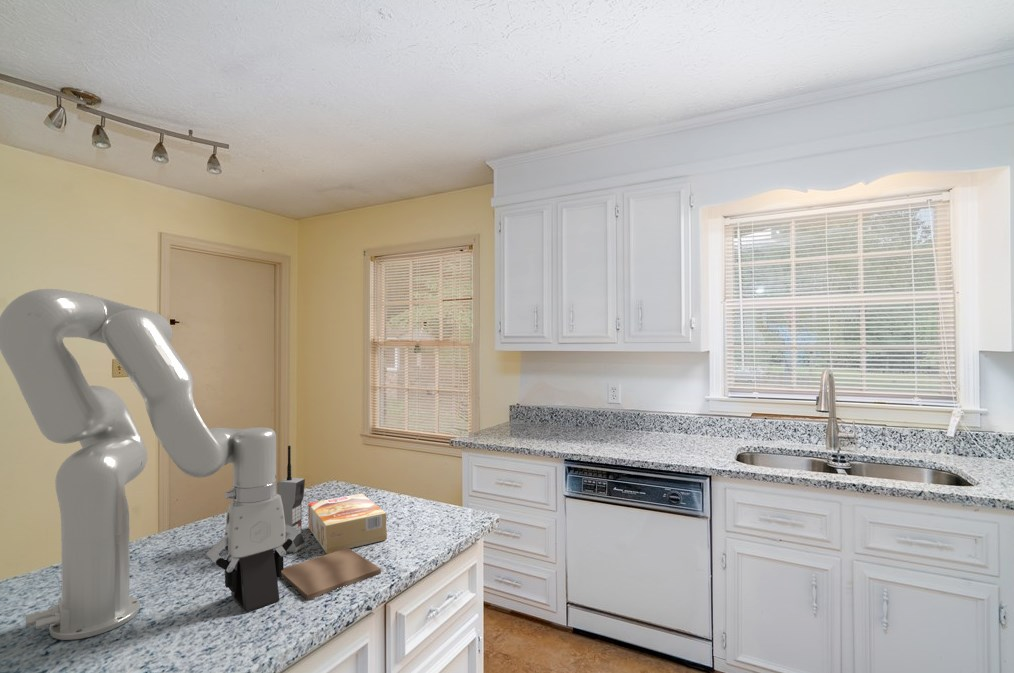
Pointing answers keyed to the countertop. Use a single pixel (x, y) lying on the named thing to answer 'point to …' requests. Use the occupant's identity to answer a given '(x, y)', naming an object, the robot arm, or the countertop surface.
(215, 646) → the countertop surface
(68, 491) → the robot arm
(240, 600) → the phone stand
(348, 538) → the coffeecake box
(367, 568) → the walnut board
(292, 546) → the vintage mobile phone
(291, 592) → the countertop surface
